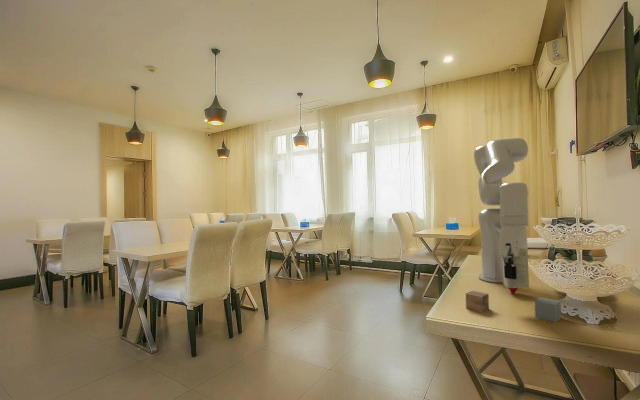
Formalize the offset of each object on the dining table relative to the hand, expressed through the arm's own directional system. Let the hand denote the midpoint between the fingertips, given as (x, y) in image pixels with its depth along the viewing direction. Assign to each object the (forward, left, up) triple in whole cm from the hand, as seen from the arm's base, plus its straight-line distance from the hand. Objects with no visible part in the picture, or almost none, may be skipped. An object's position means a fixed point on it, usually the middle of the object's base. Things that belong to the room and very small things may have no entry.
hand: (515, 276), depth 96 cm
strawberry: (-19, -8, -11) cm, 23 cm away
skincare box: (0, 0, -4) cm, 4 cm away
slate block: (-1, +8, -11) cm, 14 cm away
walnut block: (+7, -9, -11) cm, 16 cm away
